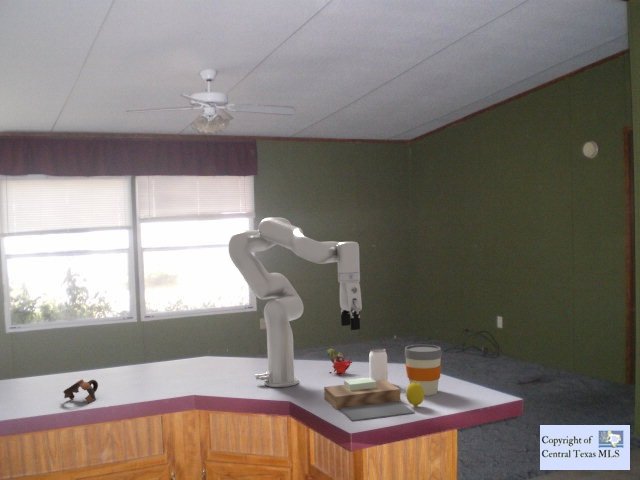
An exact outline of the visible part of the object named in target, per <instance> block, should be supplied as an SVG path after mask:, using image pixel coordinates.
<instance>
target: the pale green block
mask: <svg viewBox="0 0 640 480" xmlns="http://www.w3.org/2000/svg"><path fill="white" fill-rule="evenodd" d="M343 385H344V386H345V387H346V388H347V389H349V390H350V391H352V390H361V389H369V388H376V381H374V380H373V379H371V378H370V376H369V377H368V376H367V377H359V378H358V377H357V378H350V379H344V380H343Z"/></svg>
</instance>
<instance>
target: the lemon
mask: <svg viewBox="0 0 640 480" xmlns="http://www.w3.org/2000/svg"><path fill="white" fill-rule="evenodd" d="M405 396H406V400H407V402H408V403H409V404H410V405H412V406H413V407H414V408H417V407H418V406H419V405H421V404H422V403H423V402H424V399H425V396H424V390H423V387H422V386H421V385H420V384H419V383H417V382H413V383H411V384H410V383H409V384H408V386H407V388H406V394H405Z"/></svg>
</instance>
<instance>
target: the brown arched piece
mask: <svg viewBox="0 0 640 480" xmlns="http://www.w3.org/2000/svg"><path fill="white" fill-rule="evenodd" d="M92 385H93V386H92ZM80 388H81V389H82V390H84V391H86V392H87V394H88V395H87V396H85V397H84V399H85V401H86V403H87V402H90V403H92V402H93V401H95V400H96V398H97V397H96V394H95V393H96V392H97V390H98V388H99V384H98V381H97V380H95V379H90V380H89V381H84V379H82V378H81V379H80V380H78V381H77V382H75V383H74V384H72V385H71V386H70V387H68V388H65V390H63V394H64V396H63V397H64V398H63V399H67V398H68V399H70V400H71V399H72V400H74V399H75V397H76V395H75V394H77V393H80V391H79V389H80ZM74 393H75V394H74Z"/></svg>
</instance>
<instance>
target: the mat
mask: <svg viewBox="0 0 640 480" xmlns="http://www.w3.org/2000/svg"><path fill="white" fill-rule="evenodd" d="M338 410H339V411H340V412H341V413H342V414H343V415H345V417H347V418H348V419H349V420H350V421H351V422H357V421H358V422H359V421H366V420H367V421H368V420H375V419H379V418H380V419H381V418H389V417H390V418H391V417H397V416H403V415H410V414H411V415H412V414H415V413H416V412H415V411H414V410H413V409H410V408H409V407H408V406H406V405H405V404H404V403H402V402H401V401H400V402H399V401H394V402H386V403H378V404H369V405H361V406H353V407H345V408H339V409H338Z"/></svg>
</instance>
